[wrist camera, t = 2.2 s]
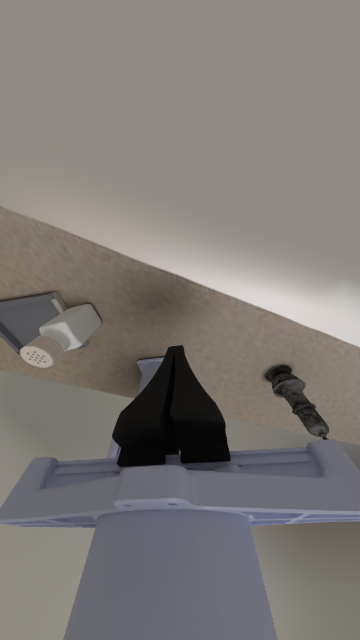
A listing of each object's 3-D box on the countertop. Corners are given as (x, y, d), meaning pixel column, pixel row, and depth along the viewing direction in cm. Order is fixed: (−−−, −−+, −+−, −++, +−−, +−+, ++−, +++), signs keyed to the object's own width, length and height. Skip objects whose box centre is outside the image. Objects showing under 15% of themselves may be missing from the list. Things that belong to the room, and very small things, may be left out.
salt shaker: (297, 373, 31) (357, 443, 20) (271, 385, 33) (314, 454, 22) (285, 359, 28) (345, 430, 18) (258, 373, 31) (299, 443, 20)
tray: (89, 342, 26) (85, 347, 25) (25, 350, 27) (19, 355, 26) (57, 291, 21) (51, 294, 20) (-20, 303, 22) (-30, 307, 21)
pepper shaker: (83, 327, 24) (34, 373, 16) (69, 307, 22) (5, 347, 14) (104, 322, 24) (64, 367, 16) (91, 301, 22) (38, 339, 14)
